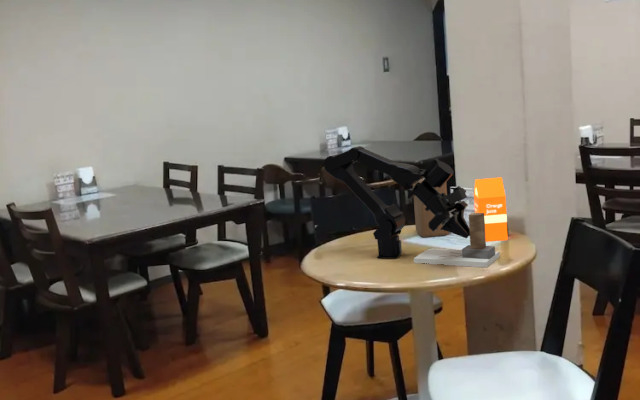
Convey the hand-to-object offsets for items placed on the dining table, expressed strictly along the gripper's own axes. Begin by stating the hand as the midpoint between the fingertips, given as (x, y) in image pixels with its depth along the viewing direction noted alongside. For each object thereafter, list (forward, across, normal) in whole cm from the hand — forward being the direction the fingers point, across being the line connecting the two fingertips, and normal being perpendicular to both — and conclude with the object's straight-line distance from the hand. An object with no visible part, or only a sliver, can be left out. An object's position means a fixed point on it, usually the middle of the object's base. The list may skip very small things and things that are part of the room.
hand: (469, 236), depth 194 cm
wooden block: (-12, +31, +23) cm, 40 cm away
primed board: (+2, 0, +8) cm, 9 cm away
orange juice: (+4, +28, +7) cm, 29 cm away
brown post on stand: (+6, 0, +2) cm, 6 cm away
